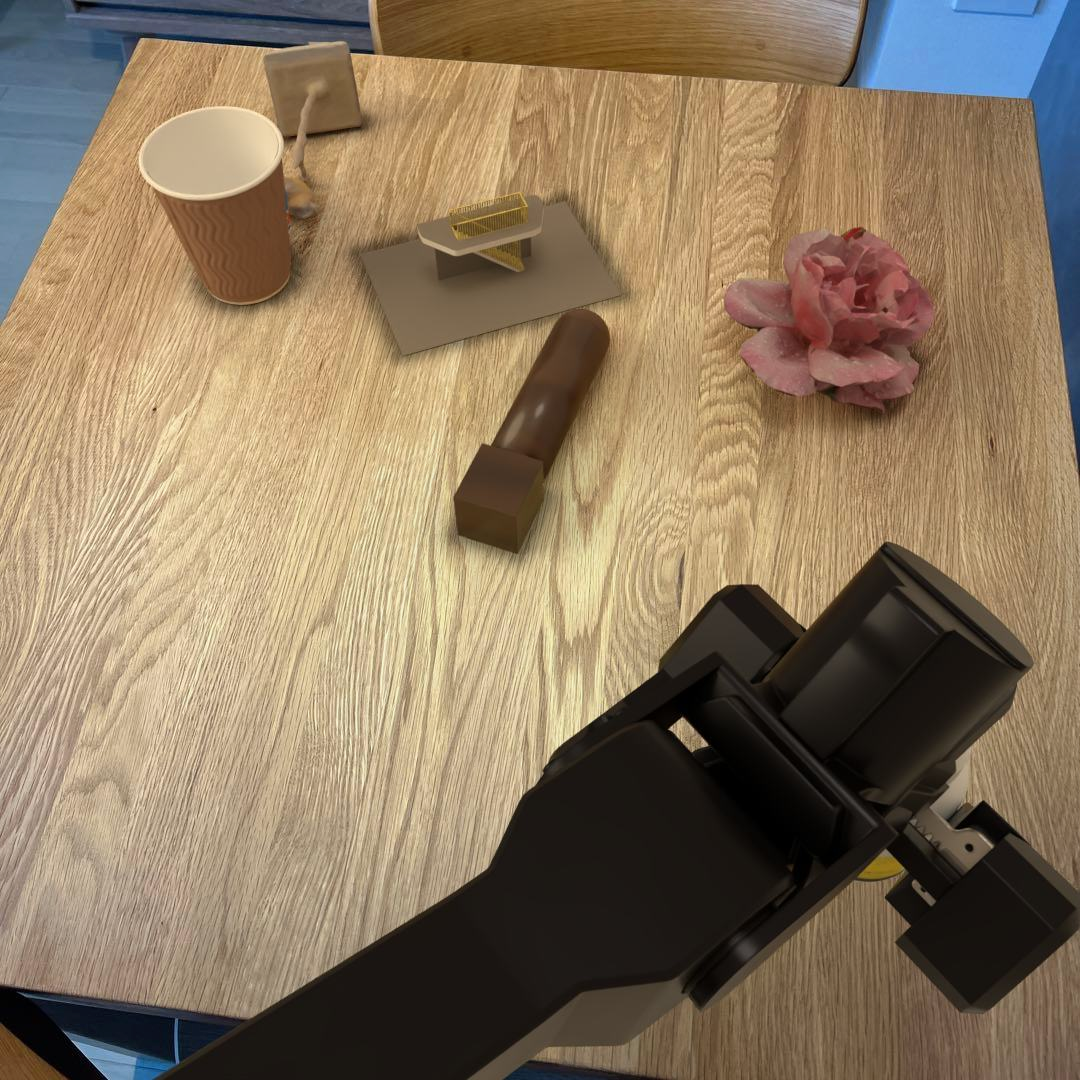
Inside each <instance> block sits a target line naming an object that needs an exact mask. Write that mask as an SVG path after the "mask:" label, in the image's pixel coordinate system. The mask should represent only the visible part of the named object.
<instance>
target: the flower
mask: <svg viewBox="0 0 1080 1080" xmlns="http://www.w3.org/2000/svg"><path fill="white" fill-rule="evenodd" d="M782 265H783V268H784V272H785V275H786V279H787V282H785V281H779V280H772V279H761V278H748V277H746V278H739V279H737V280H735V281H733V282H731V284H729V285H728V287H727V289H726V291H725V294H724V295H723V305H724V311H725V312H726V314H727V315H728V316H729V317H730V318H731V319H732V320H733V321H734V322H736V323H738V324H739V325H741V326H742V327H744V328H748V329H749V330H755V331H756V332H757V333H756V334H754V335H753V336H751V337H750V338H748V339H747V340H746V341H744V342H743V343H742V344H741V345H740V347H739V348H738V350H739V354H738V355H739V357H740V358H741V359H742V361H743V363H744V364H745V365H746V366H747V367H748V368H749V370H751V372H752V373H753V374H754V375H755V376H756V377H757V378H758V379H759V380H760V381H762V382H763V383H765V384H766V385H767V386H768V387H770V388H771V389H773V390H774V391H775V392H778V393H781V394H784V395H786V396H790V397H798V398H801V397H804V396H810V395H812V394H814V393H819V394H821V395H824V396H826V397H828V398H830V400H832V402H833V401H834V402H835V403H837V404H841V405H847V406H853V407H857V408H861V409H862V408H863V409H867V410H869V409H874V410H876V411H878V412H879V413H880V414H881V415H884V414H885V412H886V410H885V405H884V401H885V400H890V399H898V398H902V397H904V396H908V395H911V394H912V393H913V392H914V391H915V390H916V388H915V386H914V384H913V383H914V381H915V380H916V378H917V377H918V375H919V371H920V364H919V362H917V361H916V360H915V359H914V358H912V356H911V352H910V348H911V347H912V345H913V343H914V342H916V341H919V340H920V339H921V338H922V337H924V336H925V335H926V334H927V332H928V331H929V329H930V327H931V326H932V323H933V320H934V318H935V314H936V313H937V311H936V310H935V309H934V304H933V303H932V300H931V297H930V294H929V292H927V291H926V290H925V288H923V286H922V284H921V281H920V280H919V279H918V278H916V277H914V276H913V275H911V270H910V266H909V265H908V263H907V262H906V260H905V258H904V257H903V256H902V253H899V252H898V251H896V250H894V248H893V246H892V245H891V243H890V242H888V241H887V240H886V239H885V238H882V237H880V236H878V235H876V234H874V233H873V232H871V231H870V230H867V229H865V228H864V227H863V226H857V227H856V226H855V227H852V228H849V229H848V230H847V231H845V232H844V233H842V234H841V235H837V234H834V233H833V232H832V231H830V229H828V228H827V227H824V228H821V229H816V230H810V231H807V232H804V233H799V234H797V235H796V236H794V237H793V238H791V239H789V242H788V243H787V245H786V248H785V252H784V256H783V260H782Z"/></svg>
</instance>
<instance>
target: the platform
mask: <svg viewBox="0 0 1080 1080" xmlns="http://www.w3.org/2000/svg"><path fill="white" fill-rule="evenodd" d="M448 212H449V215H448V216H444V217H440V218H436V219H432V220H428V221H425V222H421V223H419V224H418V225H417V234H418V237H419V238H417V239H414V240H410V241H406V242H401V243H398V244H394V245H390V246H386V247H382V248H378V249H373V250H370V251H366V252H363V253H359V257H360V258H361V261H362V263H363V266H364V267H365V270H366V272H367V275H368V277H369V279H370V282H371V284H372V287H373V290H374V291H375V294H376V297H377V298H378V301H379V304H380V305H381V308H382V310H383V313H384V315H385V318H386V321H387V322H388V325H389V328H390V329H391V332H392V334H393V336H394V339H395V341H396V344H397V346H398V348H399V351H400V353H401V356H407V355H410V354H411V355H412V354H415V353H417V352H421V351H425V350H428V349H432V348H435V347H439V346H443V345H447V344H450V343H454V342H458V341H461V340H466V339H469V338H472V337H475V336H479V335H483V334H486V333H490V332H494V331H498V330H501V329H505V328H508V327H511V326H515V325H519V324H522V323H526V322H529V321H534V320H536V319H541V318H543V317H548V316H550V315H555V314H559V313H562V312H565V311H566V312H567V311H570V310H574V309H578V308H580V307H583V306H587V305H590V304H594V303H598V302H601V301H605V300H609V299H613V298H615V297H616V298H617V297H620V296H622V294H621V292H620V291H619V288H618V287H617V285H616V283H615V282H614V280H613V278H612V277H611V275H610V273H609V272H608V270H607V269H606V267H605V265H604V263H603V262H602V259H601V258H600V257H599V255H598V253H597V252H596V249H595V248H594V246H593V245H592V243H591V241H590V240H589V238H588V236H587V235H586V233H585V231H584V229H583V228H582V226H581V224H580V223H579V221H578V219H577V218H576V216H575V214H574V212H573V210H572V209H571V207H570V205H569V204H568V201H565V200H564V201H561V202H557V203H552V204H549V205H544V202H543V201H542V199H541V197H540V196H539V195H538V194H530V195H526V196H523V195H522V193H521V191H518V192H514V193H510V194H509V193H508V194H506V195H501V196H499V197H494V198H490V199H486V200H482V201H478V202H475V203H470V204H466V205H463V206H458V207H455V208H450V209H448Z"/></svg>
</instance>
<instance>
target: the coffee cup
mask: <svg viewBox="0 0 1080 1080" xmlns="http://www.w3.org/2000/svg"><path fill="white" fill-rule="evenodd" d="M284 151H285V141H284V136H282V134H281V132H280V130H279V127H278V125H276V124H275V123H274V122H273V121H272V120H271V119H269V118H268V117H267V116H265V115H263V114H262V113H259V112H257V111H255V110H252V109H248V108H244V107H240V106H239V107H238V106H229V105H217V106H206V107H201V108H196V109H192V110H188V111H186V112H185V111H184V112H183V113H180V114H177V115H175V116H173V117H171V118H169V119H167V120H166V121H164V122H163V123H161V124H159V125H158V126H157V127H155V129H154V130H152V131H151V132H150V134H148V135H147V137H146V138H145V140H144V142H143V143H142V145H141V147H140V151H139V153H138V168H139V171H140V173H141V176H142V177H143V178H144V180H145V181H146V182H147V183H148V184H149V185H150V186H151V188H152V190H153V191H154V193H155V195H156V198H157V199H158V201H159V203H160V205H161V207H162V209H163V211H164V212H165V215H166V217H167V219H168V221H169V223H170V225H171V227H172V229H173V230H174V232H175V234H176V236H177V238H178V240H179V242H180V244H181V247H182V248H183V250H184V252H185V253H186V256H187V257H188V260H189V262H190V263H191V266H192V267H193V269H194V272H195V273H196V275H197V277H198V279H199V281H200V282H201V284H202V285H204V288H205V289H206V291H207V292H208V293H209V294H210V295H211V296H212V297H213V298H215V299H217V301H220V302H222V303H225V304H230V305H239V306H243V305H244V306H247V305H253V304H259V303H261V302H263V301H267V300H268V299H270V298H272V297H274V296H275V295H277V294H278V293H279V292H280V291H282V289H284V287H286V285H287V283H288V281H289V280H290V276H291V264H292V250H291V240H290V232H289V231H290V229H291V220H290V215H289V212H288V204H287V197H286V190H285V183H284V177H285V175H284V166H283V165H284V164H283V156H284Z"/></svg>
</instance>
